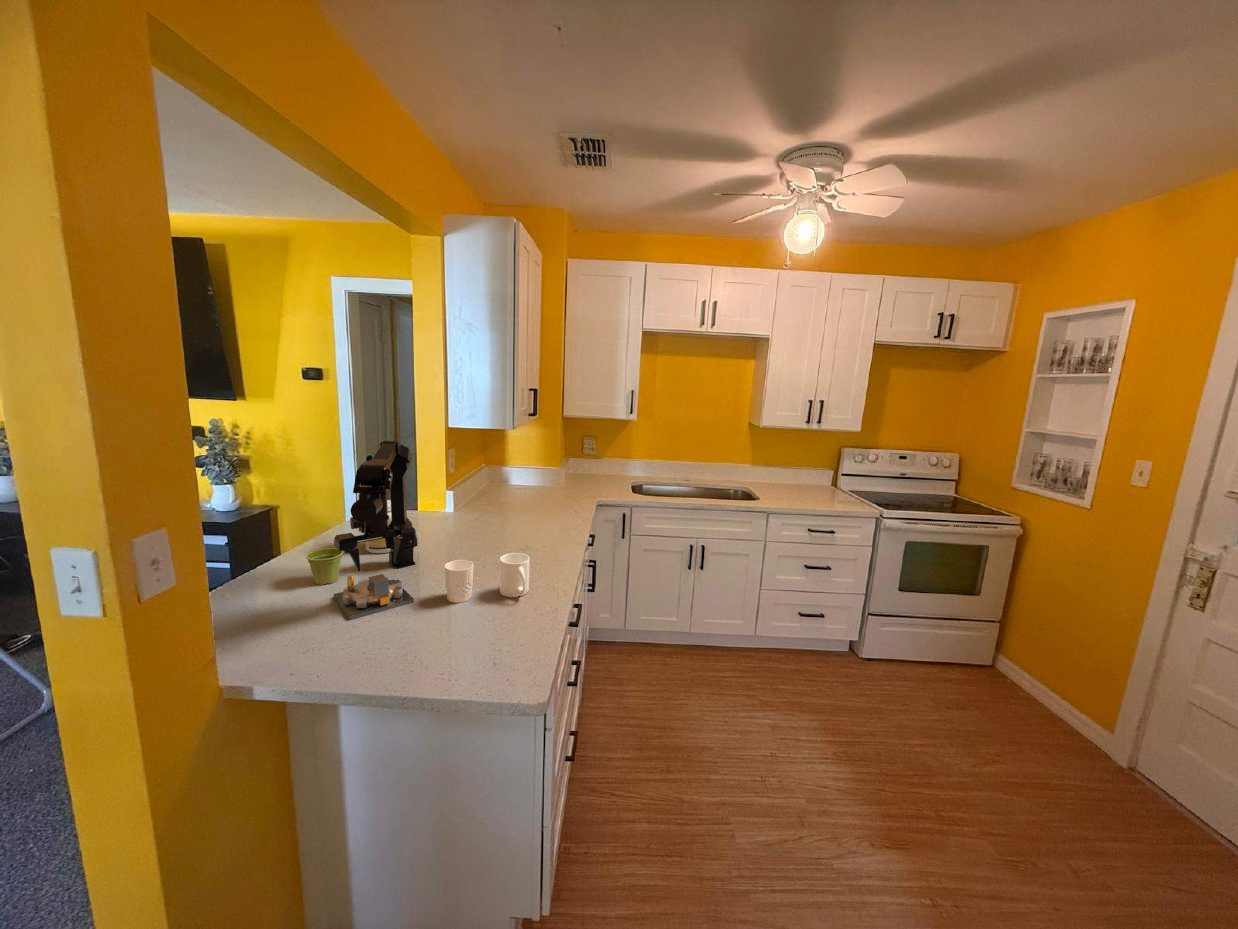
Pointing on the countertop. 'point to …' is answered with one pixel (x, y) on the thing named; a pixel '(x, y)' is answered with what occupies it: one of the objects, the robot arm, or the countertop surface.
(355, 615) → the base plate
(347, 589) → the grey cog wheel
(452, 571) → the white cup
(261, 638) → the countertop surface
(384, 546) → the supplement tub
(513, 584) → the mug
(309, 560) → the plant pot
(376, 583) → the taupe rectangular block
